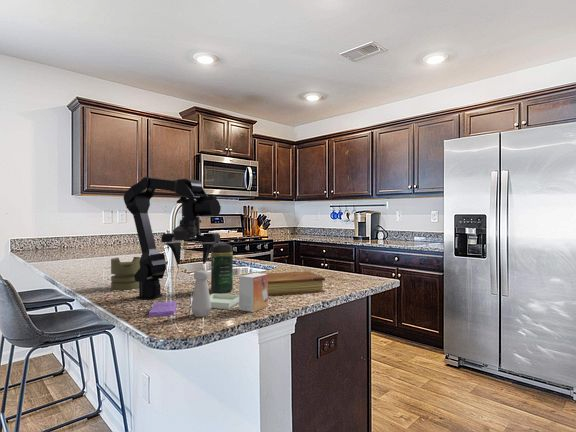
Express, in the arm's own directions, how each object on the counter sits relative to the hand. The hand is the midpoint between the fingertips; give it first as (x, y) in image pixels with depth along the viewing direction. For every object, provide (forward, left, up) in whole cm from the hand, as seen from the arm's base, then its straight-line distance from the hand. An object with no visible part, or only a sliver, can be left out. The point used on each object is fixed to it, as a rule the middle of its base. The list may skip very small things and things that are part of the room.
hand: (191, 263), depth 121 cm
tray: (+10, +1, -13) cm, 17 cm away
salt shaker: (+11, -13, -13) cm, 22 cm away
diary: (+25, +30, -14) cm, 42 cm away
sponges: (-3, -11, -14) cm, 18 cm away
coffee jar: (+1, +20, -13) cm, 24 cm away
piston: (-39, +15, -13) cm, 44 cm away
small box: (+23, -2, -13) cm, 27 cm away
